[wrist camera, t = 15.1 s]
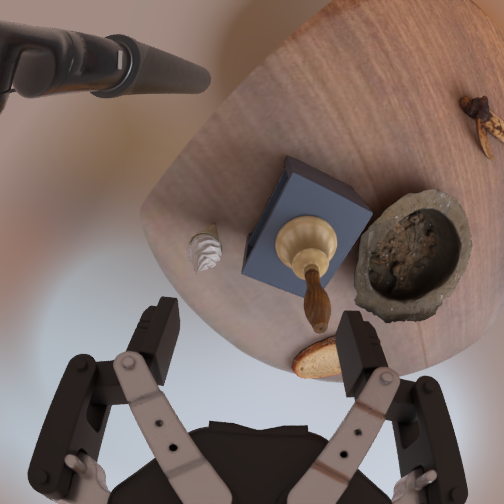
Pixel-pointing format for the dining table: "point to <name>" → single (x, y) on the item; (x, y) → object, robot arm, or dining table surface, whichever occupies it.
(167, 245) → the dining table surface
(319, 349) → the bread slice
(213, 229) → the ice cream cone
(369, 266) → the stone bowl
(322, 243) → the hand bell
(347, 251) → the shelf
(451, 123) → the dining table surface
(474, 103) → the lashed bone hook
